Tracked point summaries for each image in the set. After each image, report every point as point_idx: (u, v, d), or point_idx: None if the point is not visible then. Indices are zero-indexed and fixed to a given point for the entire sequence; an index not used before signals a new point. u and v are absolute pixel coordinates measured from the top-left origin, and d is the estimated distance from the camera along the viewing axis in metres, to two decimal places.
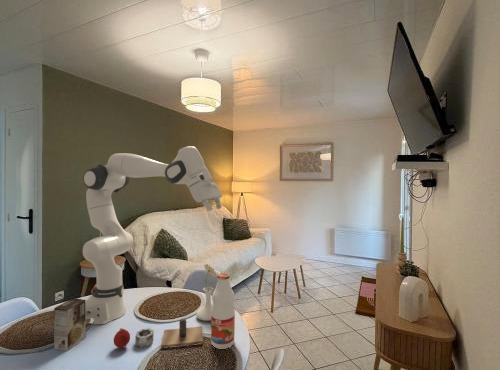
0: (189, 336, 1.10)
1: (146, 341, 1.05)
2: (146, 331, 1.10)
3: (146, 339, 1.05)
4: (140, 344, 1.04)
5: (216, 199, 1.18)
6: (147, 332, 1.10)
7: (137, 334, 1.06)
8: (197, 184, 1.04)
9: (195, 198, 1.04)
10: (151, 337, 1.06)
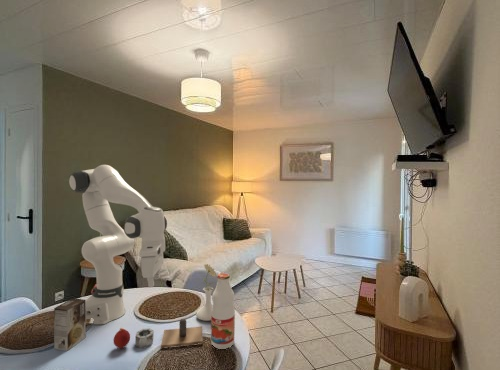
0: (189, 336, 1.10)
1: (146, 341, 1.05)
2: (146, 331, 1.10)
3: (146, 339, 1.05)
4: (140, 344, 1.04)
5: None
6: (147, 332, 1.10)
7: (137, 334, 1.06)
8: (152, 260, 0.97)
9: (144, 274, 0.96)
10: (151, 337, 1.06)
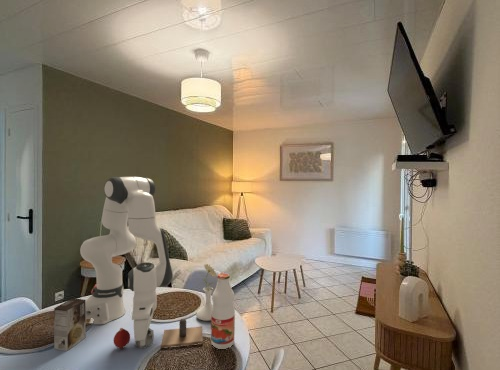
0: (189, 336, 1.10)
1: (146, 341, 1.05)
2: None
3: (146, 339, 1.05)
4: None
5: None
6: (147, 332, 1.10)
7: None
8: (145, 323, 0.99)
9: (136, 337, 0.97)
10: (151, 337, 1.06)
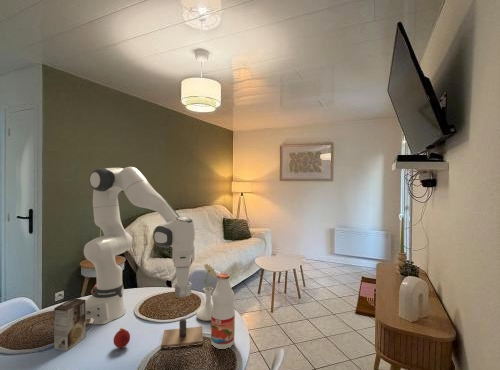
0: (189, 336, 1.10)
1: (185, 291, 1.07)
2: None
3: (186, 289, 1.07)
4: (180, 293, 1.07)
5: None
6: None
7: (176, 284, 1.09)
8: (187, 270, 1.01)
9: (179, 284, 1.00)
10: (190, 287, 1.09)
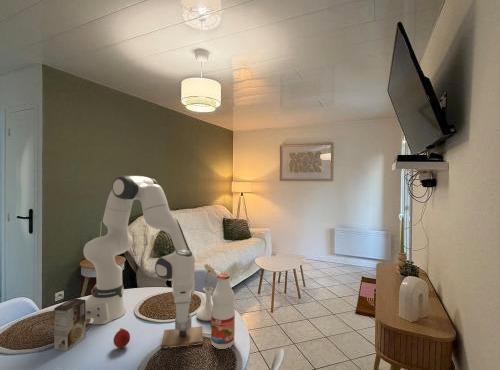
0: (189, 336, 1.10)
1: (185, 325, 1.08)
2: None
3: (186, 322, 1.08)
4: (180, 327, 1.07)
5: None
6: None
7: (176, 318, 1.09)
8: (187, 306, 1.02)
9: (179, 320, 1.00)
10: (190, 321, 1.09)
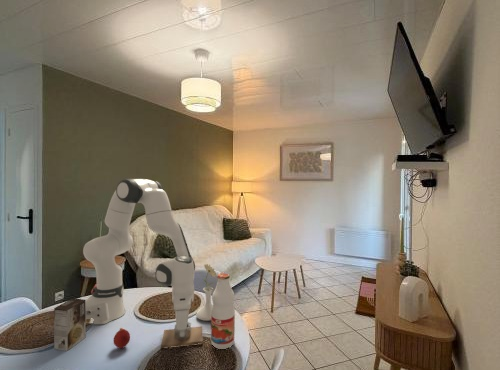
0: None
1: (185, 334, 1.08)
2: None
3: (185, 331, 1.08)
4: (179, 336, 1.07)
5: None
6: None
7: (176, 327, 1.09)
8: (186, 313, 1.02)
9: (178, 327, 1.00)
10: (189, 330, 1.09)
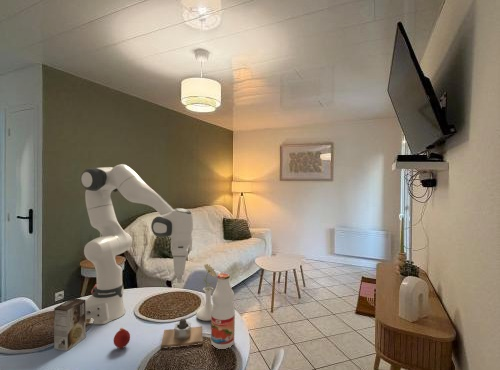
0: None
1: (185, 334, 1.08)
2: None
3: (185, 331, 1.08)
4: (179, 336, 1.07)
5: None
6: None
7: (176, 327, 1.09)
8: (184, 259, 1.06)
9: (176, 271, 1.05)
10: (189, 330, 1.09)
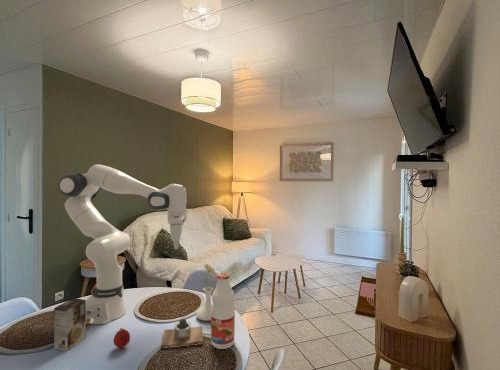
0: None
1: (185, 334, 1.08)
2: None
3: (185, 331, 1.08)
4: (179, 336, 1.07)
5: None
6: None
7: (176, 327, 1.09)
8: (179, 226, 1.19)
9: (172, 237, 1.18)
10: (189, 330, 1.09)
